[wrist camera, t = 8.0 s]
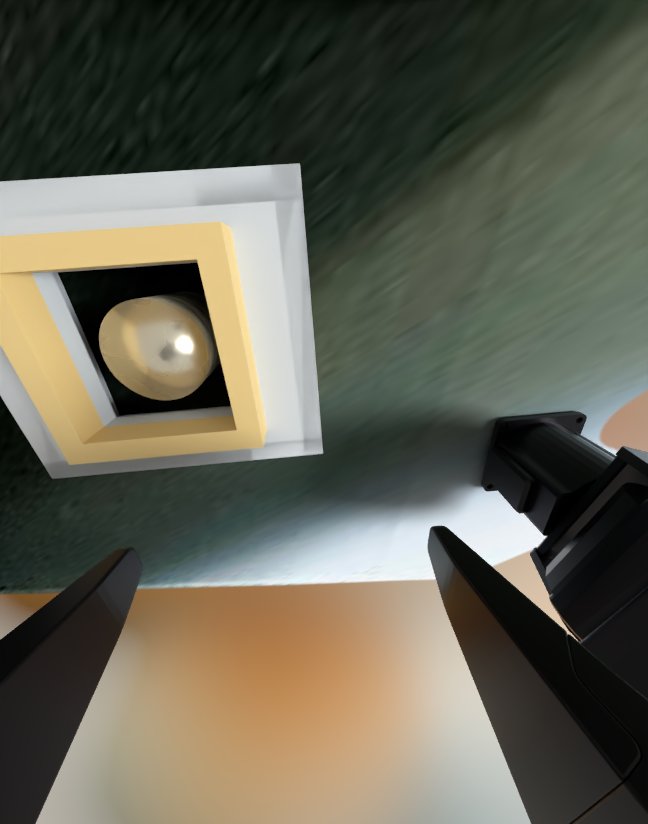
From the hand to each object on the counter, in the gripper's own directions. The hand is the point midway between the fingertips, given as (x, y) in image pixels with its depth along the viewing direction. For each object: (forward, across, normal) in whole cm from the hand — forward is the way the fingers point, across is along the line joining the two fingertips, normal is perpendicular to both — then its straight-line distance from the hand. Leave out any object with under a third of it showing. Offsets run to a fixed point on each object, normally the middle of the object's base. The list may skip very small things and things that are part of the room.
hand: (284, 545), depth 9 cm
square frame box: (+11, +6, -5) cm, 14 cm away
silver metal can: (+11, +6, -5) cm, 14 cm away
